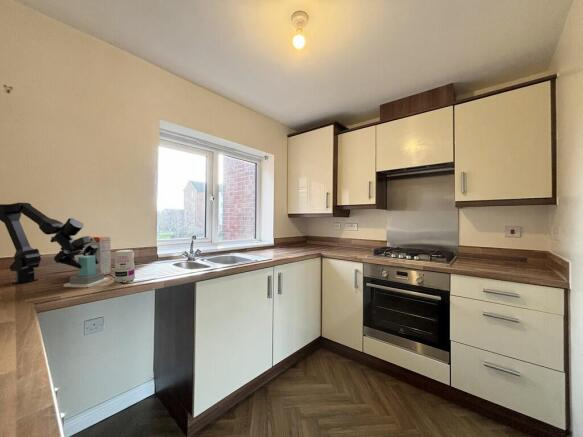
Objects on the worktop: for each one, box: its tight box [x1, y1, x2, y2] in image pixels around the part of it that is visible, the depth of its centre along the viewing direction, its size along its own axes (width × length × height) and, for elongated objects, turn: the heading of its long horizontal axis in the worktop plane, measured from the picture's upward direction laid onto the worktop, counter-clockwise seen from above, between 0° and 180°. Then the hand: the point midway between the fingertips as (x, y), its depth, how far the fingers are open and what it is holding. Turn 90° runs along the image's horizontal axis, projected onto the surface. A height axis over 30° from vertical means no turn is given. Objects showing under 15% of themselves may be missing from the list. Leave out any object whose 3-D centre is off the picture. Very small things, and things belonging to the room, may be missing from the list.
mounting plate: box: [63, 273, 110, 288], centre depth 121 cm, size 12×12×4 cm
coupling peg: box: [77, 255, 96, 277], centre depth 121 cm, size 4×4×12 cm
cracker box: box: [82, 234, 112, 276], centre depth 138 cm, size 14×6×21 cm, turn 69°
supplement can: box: [113, 249, 136, 283], centre depth 125 cm, size 8×8×15 cm
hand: (89, 265), depth 120 cm, fingers open, 9 cm apart
